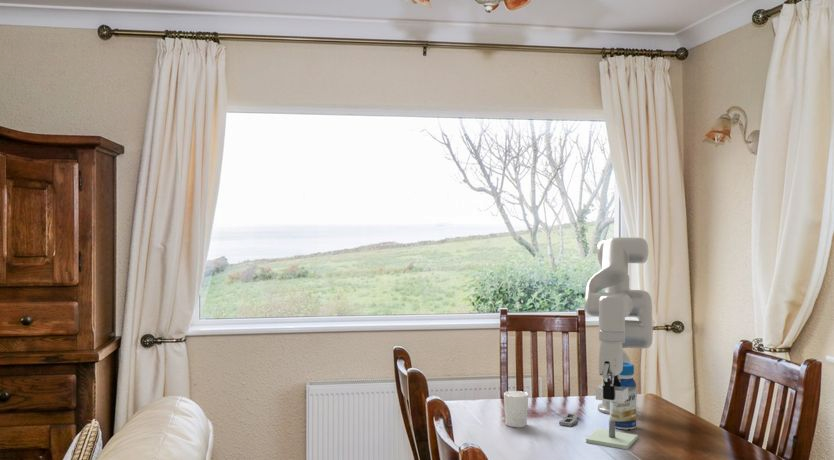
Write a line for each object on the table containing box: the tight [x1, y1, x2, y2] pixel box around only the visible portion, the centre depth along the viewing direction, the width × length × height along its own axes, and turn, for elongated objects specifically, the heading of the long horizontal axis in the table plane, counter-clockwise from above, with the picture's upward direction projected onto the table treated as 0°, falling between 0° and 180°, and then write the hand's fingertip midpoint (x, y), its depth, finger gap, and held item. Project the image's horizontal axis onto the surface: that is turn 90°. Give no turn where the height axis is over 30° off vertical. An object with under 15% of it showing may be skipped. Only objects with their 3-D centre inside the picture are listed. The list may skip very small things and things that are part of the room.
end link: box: [595, 383, 628, 403], centre depth 198 cm, size 8×6×4 cm
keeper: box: [585, 418, 639, 450], centre depth 198 cm, size 12×12×6 cm
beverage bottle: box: [609, 362, 638, 431], centre depth 213 cm, size 8×8×20 cm
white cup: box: [503, 390, 529, 428], centre depth 215 cm, size 8×8×10 cm
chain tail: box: [558, 412, 578, 428], centre depth 219 cm, size 12×6×1 cm, turn 148°
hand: (611, 396), depth 198 cm, fingers closed on end link, 6 cm apart
